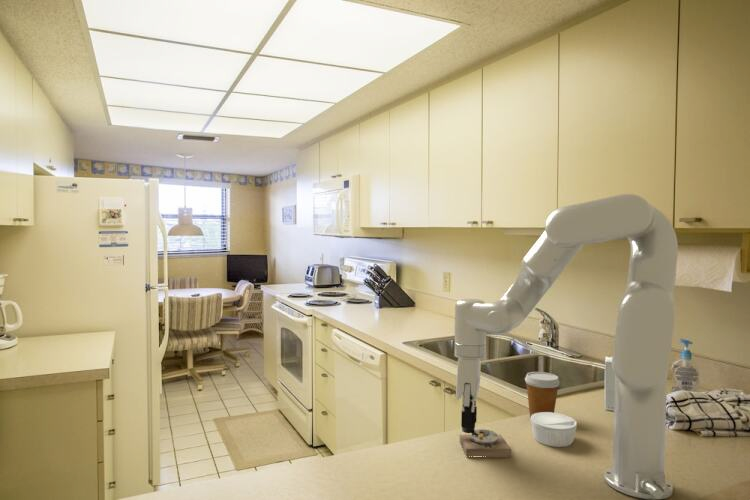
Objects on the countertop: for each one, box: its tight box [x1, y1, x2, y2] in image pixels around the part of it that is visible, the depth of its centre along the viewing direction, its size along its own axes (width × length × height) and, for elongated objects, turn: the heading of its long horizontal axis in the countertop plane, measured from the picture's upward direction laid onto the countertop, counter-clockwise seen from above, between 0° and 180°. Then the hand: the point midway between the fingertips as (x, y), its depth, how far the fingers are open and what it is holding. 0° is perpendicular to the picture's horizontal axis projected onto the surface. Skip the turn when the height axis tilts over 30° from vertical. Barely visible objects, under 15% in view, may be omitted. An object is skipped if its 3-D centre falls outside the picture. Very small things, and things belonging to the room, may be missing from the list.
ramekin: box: [530, 412, 578, 448], centre depth 127 cm, size 11×11×5 cm
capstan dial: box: [461, 403, 498, 445], centre depth 120 cm, size 7×8×8 cm
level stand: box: [459, 434, 512, 458], centre depth 120 cm, size 8×10×2 cm
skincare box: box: [604, 355, 615, 412], centre depth 151 cm, size 8×6×15 cm
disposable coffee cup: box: [524, 371, 561, 418], centre depth 142 cm, size 10×10×12 cm
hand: (469, 424), depth 122 cm, fingers open, 3 cm apart
